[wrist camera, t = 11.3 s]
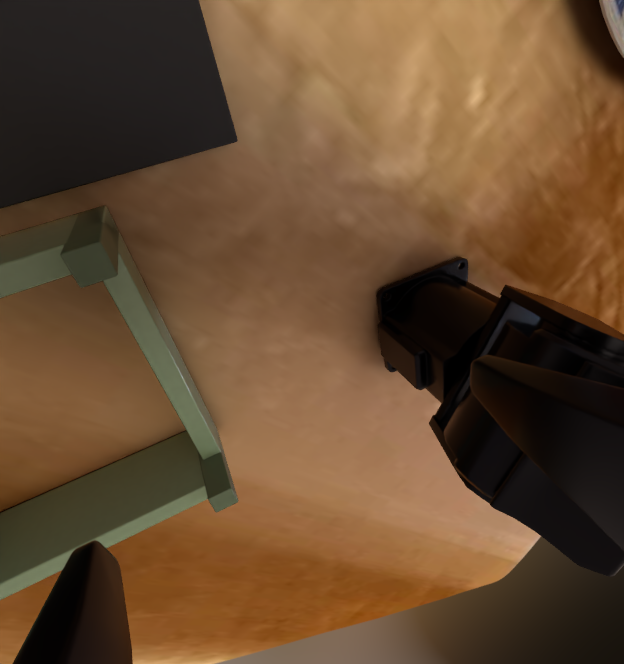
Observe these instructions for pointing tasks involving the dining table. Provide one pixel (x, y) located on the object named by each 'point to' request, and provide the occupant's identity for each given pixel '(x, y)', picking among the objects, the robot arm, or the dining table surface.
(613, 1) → the ceramic plate
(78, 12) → the mat
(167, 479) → the crate
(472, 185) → the dining table surface
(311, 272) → the dining table surface
